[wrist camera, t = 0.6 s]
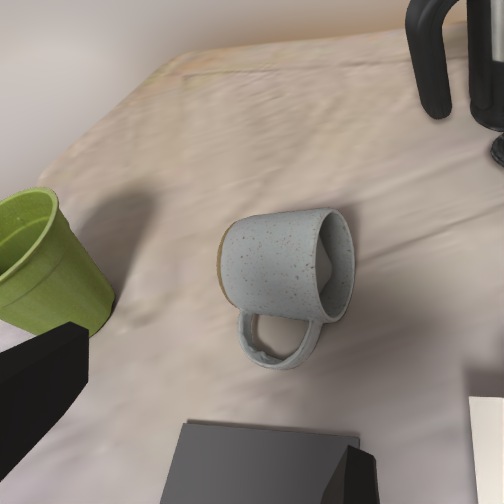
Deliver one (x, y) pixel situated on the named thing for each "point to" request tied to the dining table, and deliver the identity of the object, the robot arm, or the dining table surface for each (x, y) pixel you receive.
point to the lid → (488, 447)
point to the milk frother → (480, 61)
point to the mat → (251, 466)
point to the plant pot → (47, 268)
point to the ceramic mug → (287, 274)
